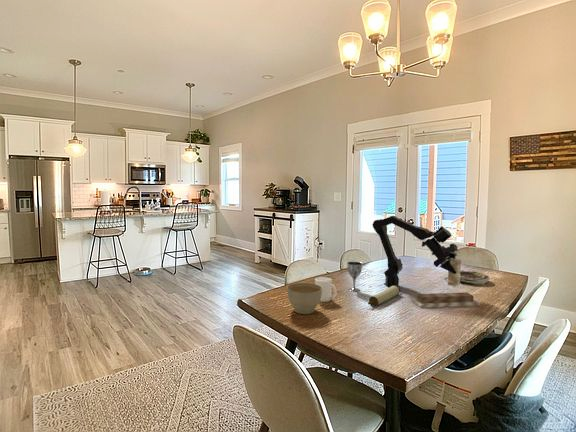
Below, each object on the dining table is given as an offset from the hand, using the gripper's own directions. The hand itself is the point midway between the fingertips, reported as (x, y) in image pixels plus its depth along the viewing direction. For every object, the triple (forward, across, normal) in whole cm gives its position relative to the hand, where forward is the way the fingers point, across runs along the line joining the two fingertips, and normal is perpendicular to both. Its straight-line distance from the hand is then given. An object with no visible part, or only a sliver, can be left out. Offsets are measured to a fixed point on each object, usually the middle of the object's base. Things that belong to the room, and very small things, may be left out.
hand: (457, 272), depth 171 cm
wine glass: (-22, -24, +42) cm, 53 cm away
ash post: (+4, 0, +6) cm, 7 cm away
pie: (+6, +40, +14) cm, 43 cm away
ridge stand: (+8, -11, +11) cm, 18 cm away
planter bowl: (-22, -67, +41) cm, 81 cm away
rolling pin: (-8, -27, +28) cm, 40 cm away
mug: (-23, -48, +42) cm, 68 cm away
